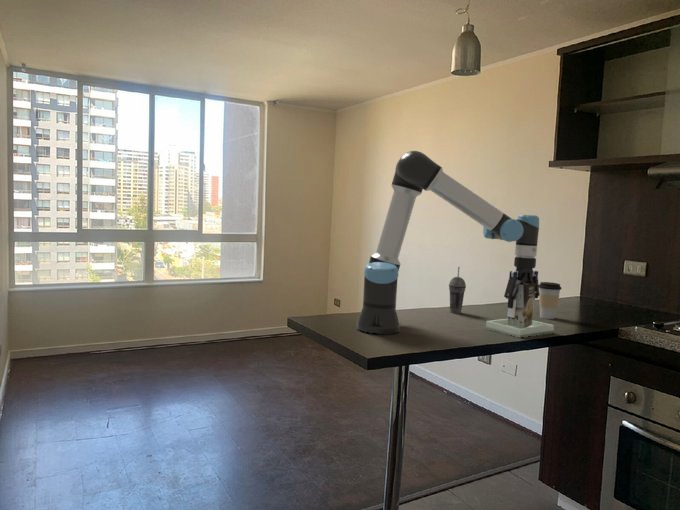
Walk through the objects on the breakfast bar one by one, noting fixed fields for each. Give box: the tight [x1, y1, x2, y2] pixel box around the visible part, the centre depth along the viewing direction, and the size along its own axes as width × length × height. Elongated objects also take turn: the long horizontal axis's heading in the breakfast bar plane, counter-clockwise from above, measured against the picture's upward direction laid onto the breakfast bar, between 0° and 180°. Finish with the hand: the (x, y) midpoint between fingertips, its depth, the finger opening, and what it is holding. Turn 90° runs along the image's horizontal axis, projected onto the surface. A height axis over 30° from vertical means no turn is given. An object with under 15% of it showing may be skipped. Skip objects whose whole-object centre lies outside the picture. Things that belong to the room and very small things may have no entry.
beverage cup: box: [448, 266, 467, 315], centre depth 222 cm, size 7×7×20 cm
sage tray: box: [485, 318, 555, 339], centre depth 192 cm, size 20×15×3 cm
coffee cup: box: [538, 281, 562, 320], centre depth 221 cm, size 9×9×15 cm
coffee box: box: [507, 282, 536, 328], centre depth 191 cm, size 9×6×16 cm
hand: (520, 315), depth 192 cm, fingers open, 10 cm apart
